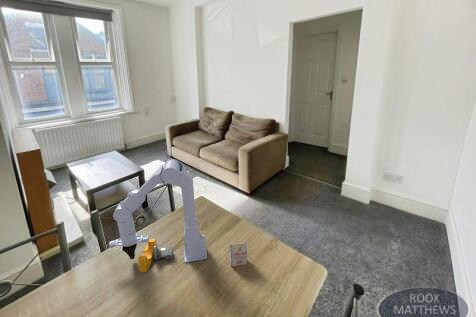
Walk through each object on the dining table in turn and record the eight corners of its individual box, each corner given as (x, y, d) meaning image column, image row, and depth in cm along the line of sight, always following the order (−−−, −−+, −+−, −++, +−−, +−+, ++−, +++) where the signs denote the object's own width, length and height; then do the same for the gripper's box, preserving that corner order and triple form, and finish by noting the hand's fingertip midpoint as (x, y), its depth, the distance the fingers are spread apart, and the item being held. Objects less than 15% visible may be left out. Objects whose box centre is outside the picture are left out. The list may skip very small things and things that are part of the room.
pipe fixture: (172, 250, 107) (171, 239, 105) (172, 260, 101) (170, 248, 99) (155, 252, 105) (154, 241, 103) (155, 263, 100) (153, 251, 98)
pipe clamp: (147, 250, 107) (145, 238, 105) (157, 250, 107) (155, 238, 105) (136, 271, 96) (133, 259, 93) (146, 272, 96) (144, 259, 93)
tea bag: (229, 260, 102) (229, 241, 98) (245, 258, 103) (245, 239, 99) (231, 266, 98) (230, 247, 95) (247, 264, 99) (247, 245, 96)
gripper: (147, 222, 101) (151, 247, 105) (109, 227, 97) (116, 253, 102) (145, 232, 94) (150, 259, 99) (105, 238, 91) (112, 266, 96)
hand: (132, 257), depth 100 cm, fingers closed
